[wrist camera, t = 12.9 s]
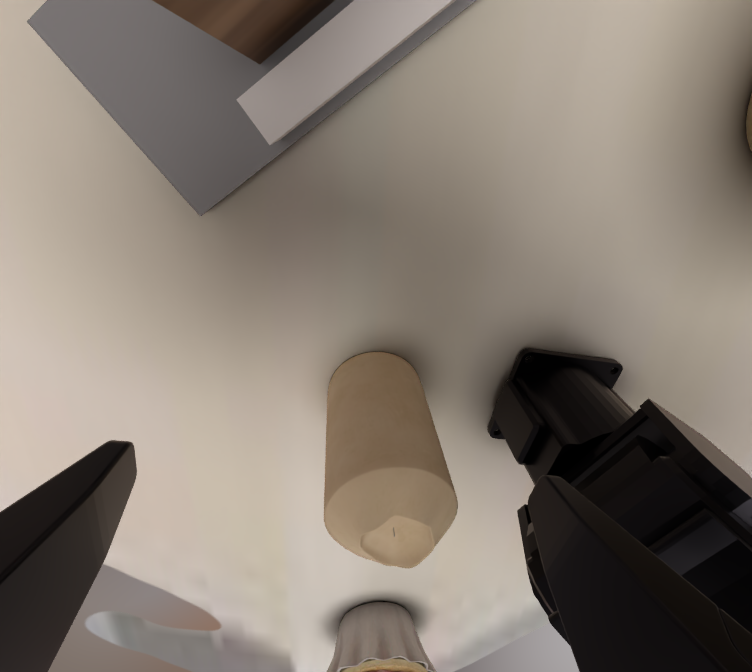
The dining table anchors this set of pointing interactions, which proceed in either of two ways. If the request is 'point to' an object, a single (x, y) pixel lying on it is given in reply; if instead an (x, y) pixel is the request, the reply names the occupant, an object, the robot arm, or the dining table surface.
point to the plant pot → (749, 123)
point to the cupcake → (379, 641)
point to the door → (248, 21)
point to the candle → (384, 463)
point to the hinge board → (227, 79)
